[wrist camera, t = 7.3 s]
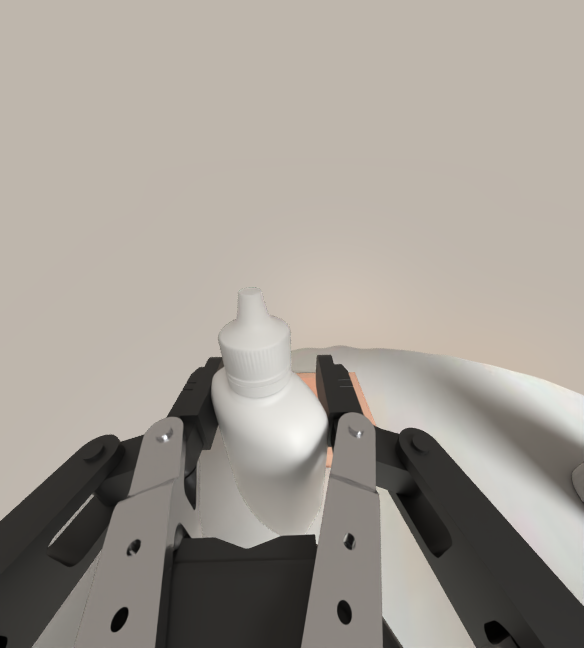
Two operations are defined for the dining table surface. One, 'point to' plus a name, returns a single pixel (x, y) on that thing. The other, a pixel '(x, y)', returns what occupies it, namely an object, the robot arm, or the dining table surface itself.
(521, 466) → the dining table surface
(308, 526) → the eye dropper bottle
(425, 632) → the dining table surface
